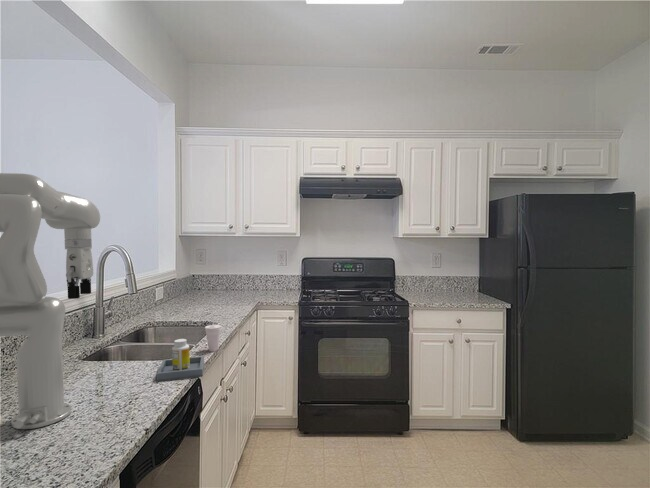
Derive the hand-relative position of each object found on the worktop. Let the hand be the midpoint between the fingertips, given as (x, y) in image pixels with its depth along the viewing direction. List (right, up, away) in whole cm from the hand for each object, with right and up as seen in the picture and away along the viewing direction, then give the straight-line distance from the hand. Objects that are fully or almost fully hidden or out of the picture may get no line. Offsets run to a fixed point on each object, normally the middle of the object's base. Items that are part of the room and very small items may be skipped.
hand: (80, 296), depth 128 cm
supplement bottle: (+32, -26, +5) cm, 42 cm away
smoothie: (+36, -26, +29) cm, 53 cm away
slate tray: (+32, -27, +5) cm, 42 cm away
